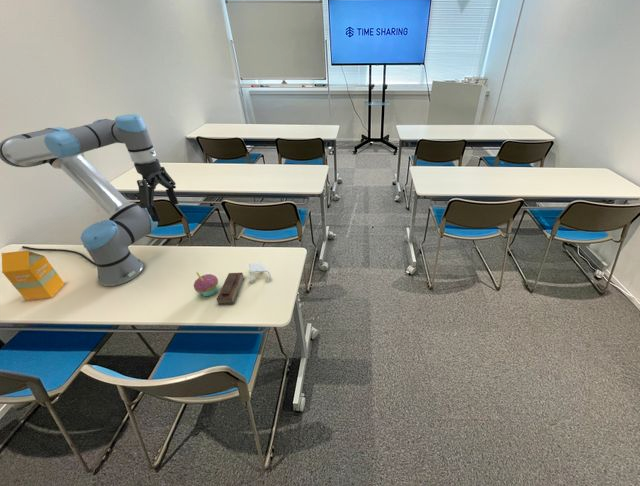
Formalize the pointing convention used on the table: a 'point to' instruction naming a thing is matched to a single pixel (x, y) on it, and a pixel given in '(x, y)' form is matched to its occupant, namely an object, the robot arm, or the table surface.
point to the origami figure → (257, 270)
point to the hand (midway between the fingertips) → (166, 212)
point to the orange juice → (31, 274)
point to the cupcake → (206, 284)
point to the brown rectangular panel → (230, 288)
